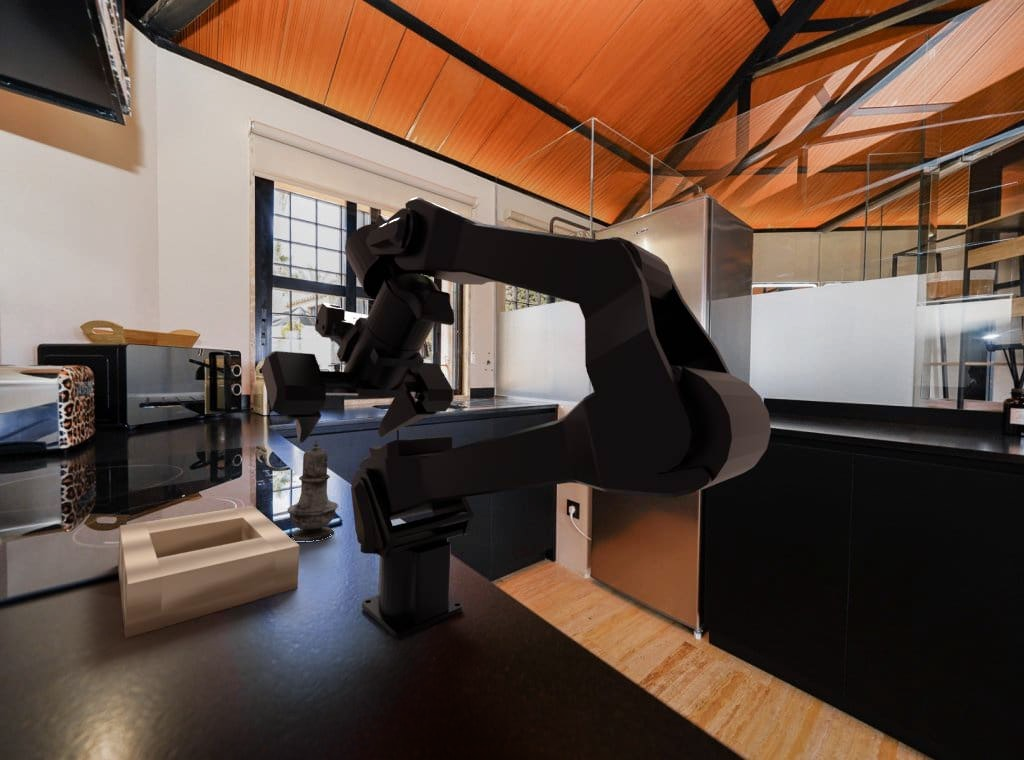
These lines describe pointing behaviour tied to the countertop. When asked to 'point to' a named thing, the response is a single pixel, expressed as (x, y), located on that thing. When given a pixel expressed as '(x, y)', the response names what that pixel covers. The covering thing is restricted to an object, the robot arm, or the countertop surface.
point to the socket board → (201, 566)
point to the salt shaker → (313, 499)
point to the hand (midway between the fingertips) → (342, 436)
